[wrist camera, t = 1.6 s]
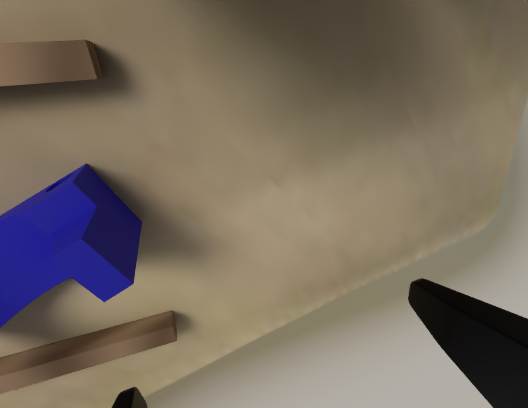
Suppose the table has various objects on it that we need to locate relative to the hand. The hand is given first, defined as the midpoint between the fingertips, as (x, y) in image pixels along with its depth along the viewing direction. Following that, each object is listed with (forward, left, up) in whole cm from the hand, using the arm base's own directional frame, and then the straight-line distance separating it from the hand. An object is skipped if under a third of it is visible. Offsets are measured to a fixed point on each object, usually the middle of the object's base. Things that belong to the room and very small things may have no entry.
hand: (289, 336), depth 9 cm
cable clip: (+12, +1, -12) cm, 17 cm away
